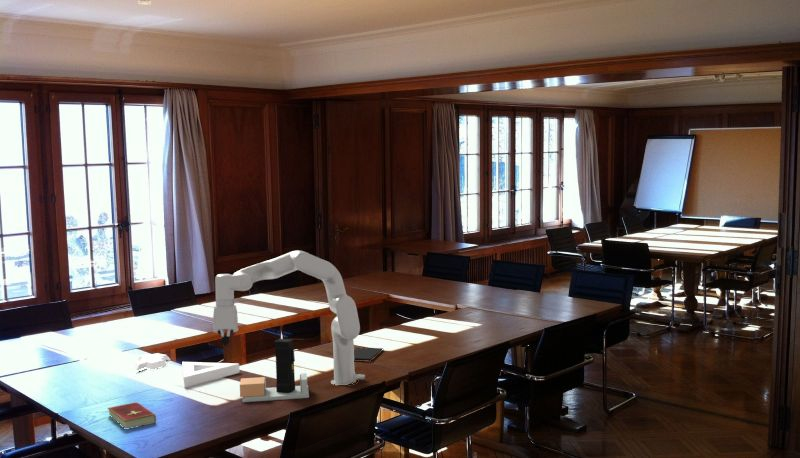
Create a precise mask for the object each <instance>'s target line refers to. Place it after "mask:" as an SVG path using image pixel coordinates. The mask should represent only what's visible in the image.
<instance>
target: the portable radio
mask: <svg viewBox="0 0 800 458" xmlns="http://www.w3.org/2000/svg"><path fill="white" fill-rule="evenodd" d="M278 335H279V334H276V340H274V348H275V350H274V352H275V374H276V375H275V376H276V386H275V387H276V390H277V392H280V393H290V392H292V391H294V390H295V386H296V380H295V376H296V375H295V361H296V360H295V358H296V357H295V348H294V340H293V339H291V338H290V339H288V338H279V336H278Z"/></svg>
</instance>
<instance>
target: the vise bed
mask: <svg viewBox="0 0 800 458" xmlns="http://www.w3.org/2000/svg"><path fill="white" fill-rule="evenodd" d="M309 393H310V392H309V385H308V375H307V373H306V372H305V373H300V374H299V385H295V390H294V391H292V392H290V393H280V392H277V390H276V386H274V387H266V395H263V396H249V397H241V398H242V399H241V400H242V403H249V402H250V403H252V402H262V401H263V402H267V401H280V400H295V399H309V398H310V394H309Z"/></svg>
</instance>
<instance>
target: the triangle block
mask: <svg viewBox="0 0 800 458" xmlns="http://www.w3.org/2000/svg"><path fill="white" fill-rule="evenodd" d="M181 363H182V365H181V366H182V377H183V384H184V385H183V386H184V388H188V387H189V388H190V387H192V386H196V385H200V384H203V383H207V382H210V381H211V382H212V381H214V380H217V379H222V378H225V377H229V376H232V375H235V374H240V363H233V362H232V363H230V362H201V361H199V362H198V361H182V362H181Z"/></svg>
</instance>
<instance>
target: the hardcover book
mask: <svg viewBox="0 0 800 458" xmlns="http://www.w3.org/2000/svg"><path fill="white" fill-rule="evenodd" d="M107 410H108V414H109V415H111V416H112V417H113V418H114V419H115V420H116V421H118V422H119V423H120V424H121V425H122V426H123V427H124V428H131V427H136V426H141V427H143V426H142V425H145V426H149V424H150V425H153V424H156V422H157V416H156V414H155V413H154V412H152V411H151V410H150V409H148V408H146V407H145V406H143V405H142V404H141V403H139V402H138V401H135V402H130V403H125V404H121V405H115V406H110V407H107ZM113 418H112V419H113ZM114 419H113V420H114ZM115 420H114V421H115ZM116 421H115V422H116ZM120 424H119V425H120Z"/></svg>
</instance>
